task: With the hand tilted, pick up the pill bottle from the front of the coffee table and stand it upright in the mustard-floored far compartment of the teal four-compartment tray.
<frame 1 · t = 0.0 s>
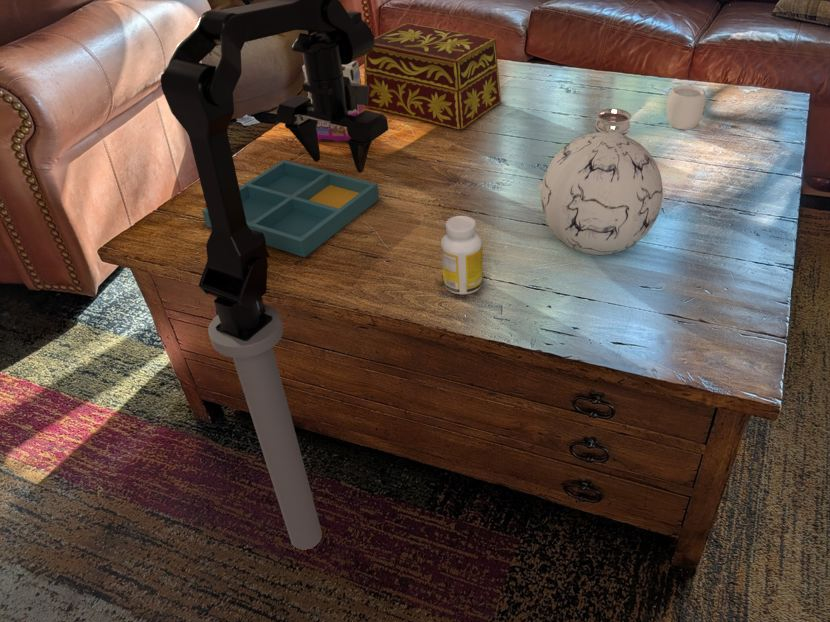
hand: (338, 166, 124), 13 cm above the table, tool pointing down, fingers open, 9 cm apart
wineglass: (607, 173, 148), on the table
tray: (294, 212, 138), on the table
mug: (684, 123, 166), on the table
pill bottle: (463, 285, 119), on the table
decorative box: (433, 105, 176), on the table
decorative sphere: (595, 246, 128), on the table
candy bar box: (341, 138, 163), on the table
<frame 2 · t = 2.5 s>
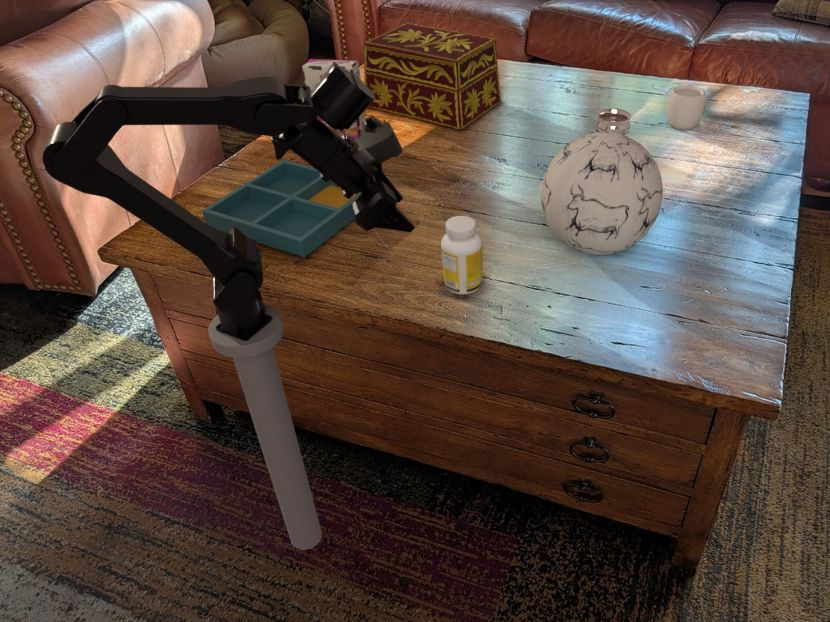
hand: (406, 214, 111), 13 cm above the table, tool tilted 40°, fingers open, 9 cm apart
nothing on the table moved.
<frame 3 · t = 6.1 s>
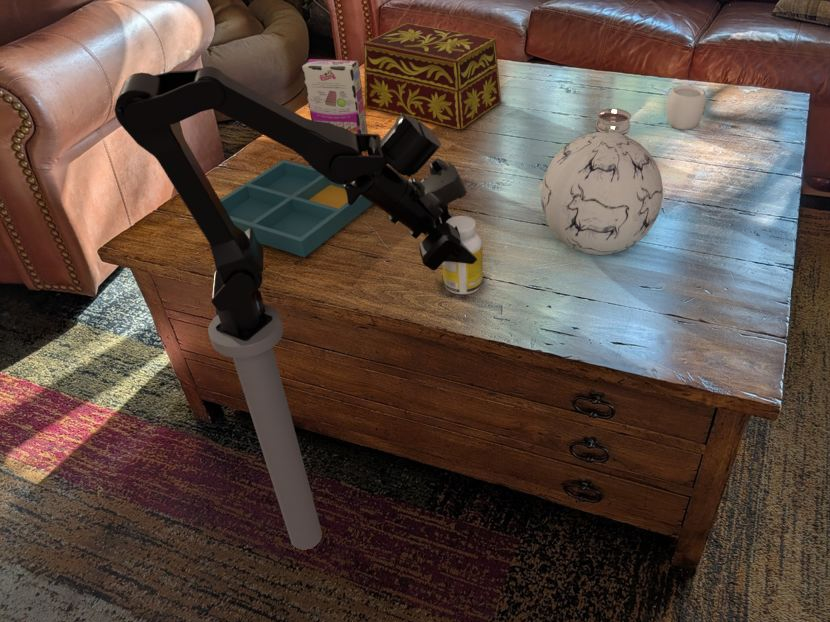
hand: (470, 249, 115), 7 cm above the table, tool tilted 45°, fingers closed on pill bottle, 6 cm apart
pill bottle: (463, 285, 119), on the table, touching gripper
everything else where it was.
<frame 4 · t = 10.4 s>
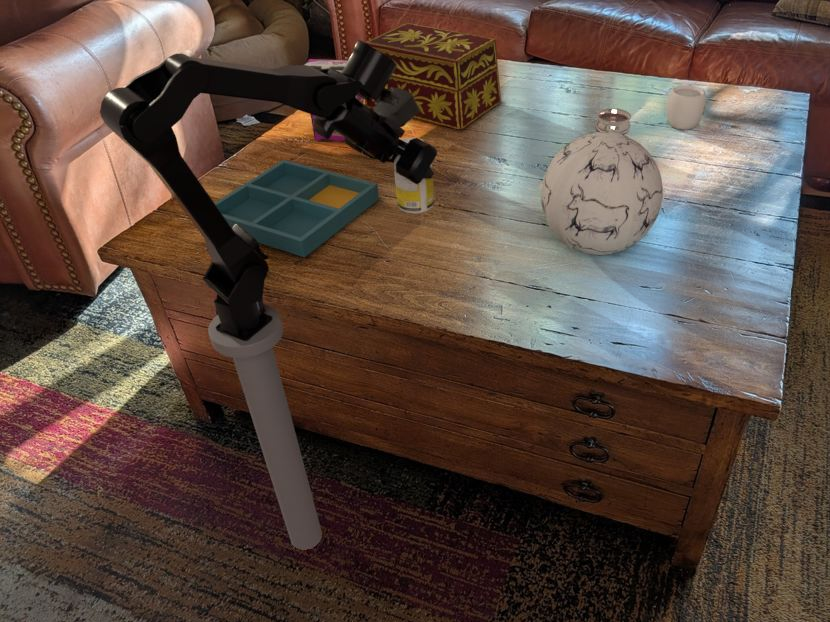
hand: (419, 169, 124), 12 cm above the table, tool tilted 45°, fingers closed on pill bottle, 6 cm apart
pill bottle: (416, 207, 128), point 5 cm above the table, touching gripper
everything else where it was.
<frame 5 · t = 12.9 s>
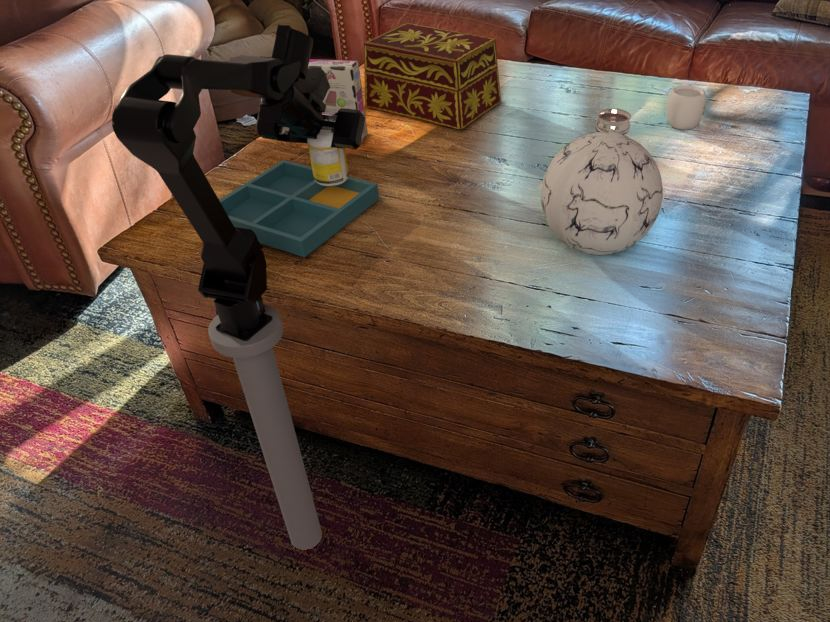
hand: (329, 143, 132), 12 cm above the table, tool tilted 45°, fingers closed on pill bottle, 6 cm apart
pill bottle: (331, 180, 136), point 5 cm above the table, touching gripper
everything else where it was.
when the fingers open (8 cm above the table, at t = 15.0 s): pill bottle stays where it is, resting on tray.
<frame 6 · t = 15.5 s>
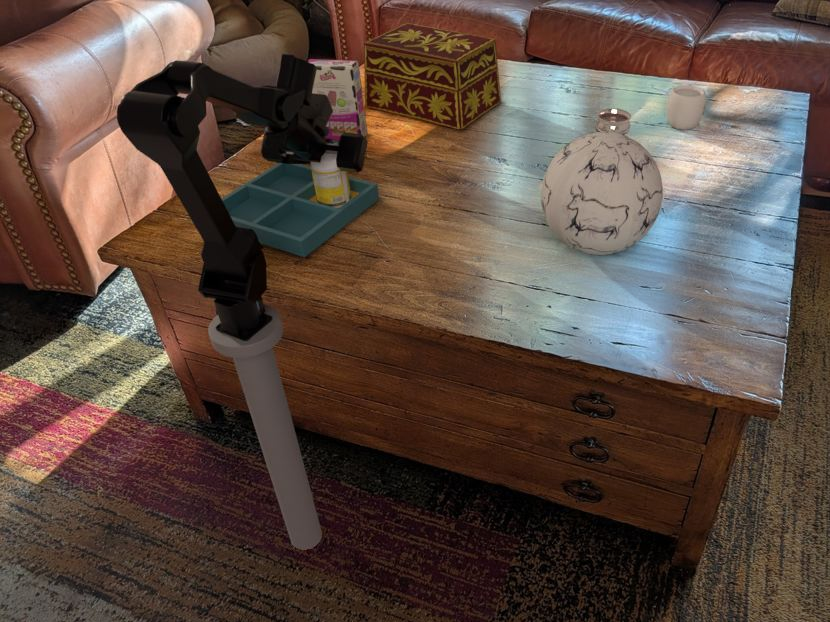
hand: (332, 164, 135), 8 cm above the table, tool tilted 45°, fingers open, 9 cm apart
pill bottle: (334, 202, 139), point 1 cm above the table, touching tray
everything else where it was.
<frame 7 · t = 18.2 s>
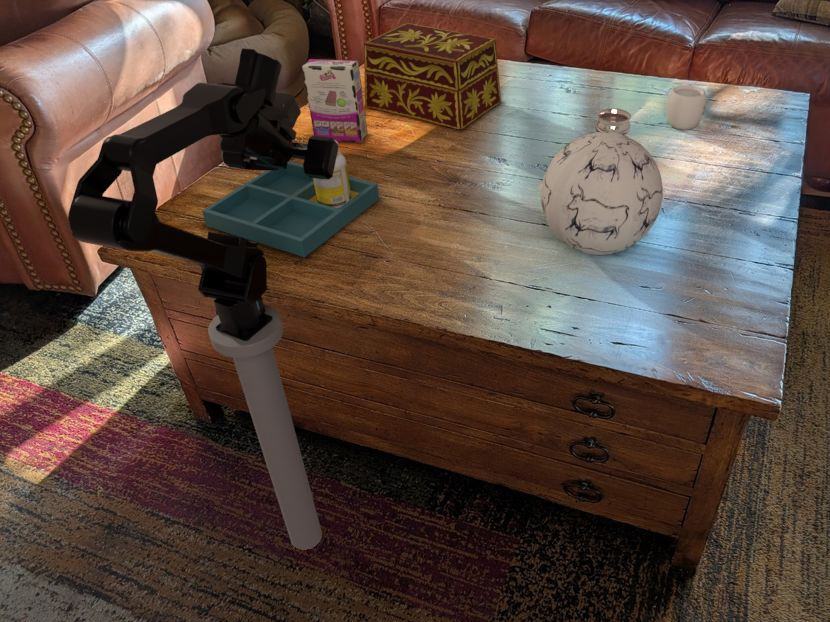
hand: (302, 170, 124), 12 cm above the table, tool tilted 45°, fingers open, 9 cm apart
nothing on the table moved.
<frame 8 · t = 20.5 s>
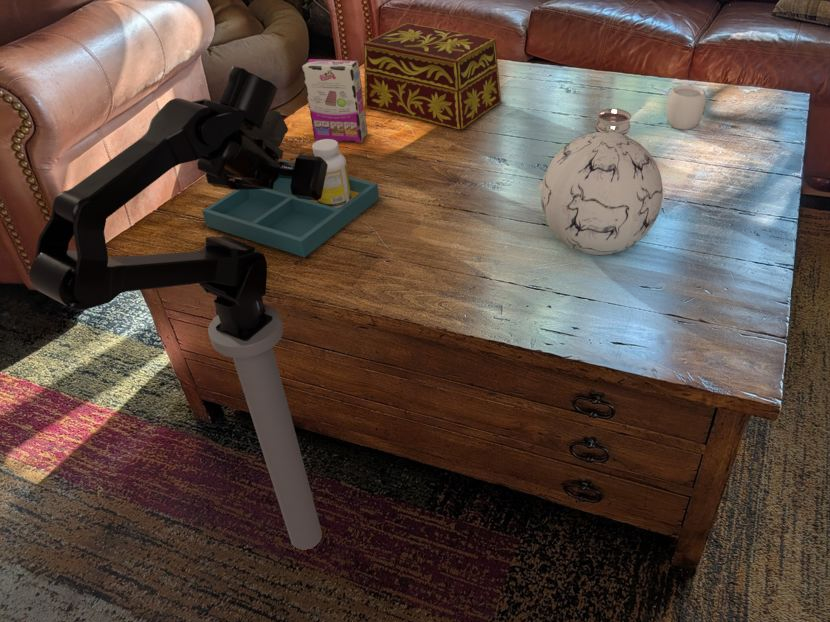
hand: (291, 188, 119), 13 cm above the table, tool tilted 45°, fingers open, 9 cm apart
nothing on the table moved.
at the end: pill bottle inside the target area in the tray (0.1 cm from its centre), point 0.8 cm above the tray's base; pill bottle tilted 0° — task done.
